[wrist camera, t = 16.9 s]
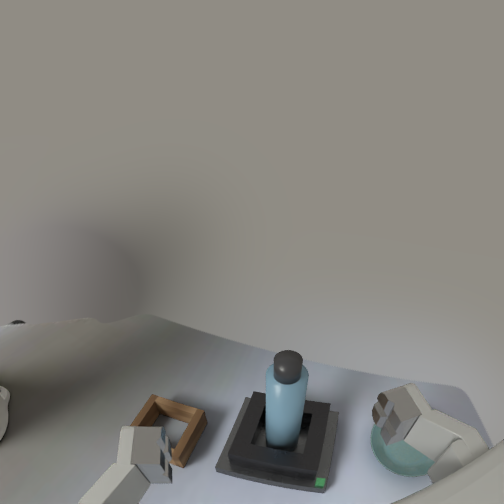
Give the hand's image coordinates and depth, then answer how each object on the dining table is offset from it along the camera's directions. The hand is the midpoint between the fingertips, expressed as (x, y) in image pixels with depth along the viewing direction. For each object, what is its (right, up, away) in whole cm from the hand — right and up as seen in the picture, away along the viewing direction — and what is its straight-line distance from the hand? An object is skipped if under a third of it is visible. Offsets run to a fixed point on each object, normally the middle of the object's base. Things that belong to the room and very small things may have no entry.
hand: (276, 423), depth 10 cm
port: (+3, -18, +24) cm, 30 cm away
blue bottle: (+3, -17, +23) cm, 29 cm away
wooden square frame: (-12, -18, +25) cm, 33 cm away
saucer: (+20, -20, +21) cm, 35 cm away
